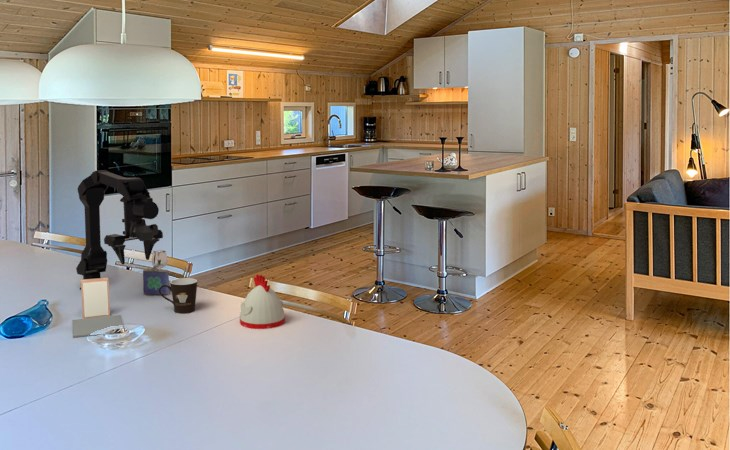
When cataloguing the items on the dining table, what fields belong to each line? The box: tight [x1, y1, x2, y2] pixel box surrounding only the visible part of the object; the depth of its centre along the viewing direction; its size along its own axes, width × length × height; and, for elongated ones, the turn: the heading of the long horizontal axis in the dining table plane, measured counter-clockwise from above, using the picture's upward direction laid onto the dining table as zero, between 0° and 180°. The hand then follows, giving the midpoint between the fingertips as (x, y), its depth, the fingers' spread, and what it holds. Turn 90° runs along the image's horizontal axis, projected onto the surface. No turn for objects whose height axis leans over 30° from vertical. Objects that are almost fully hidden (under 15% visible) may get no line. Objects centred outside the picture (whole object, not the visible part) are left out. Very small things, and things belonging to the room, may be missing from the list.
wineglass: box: [151, 249, 169, 270], centre depth 245 cm, size 6×6×12 cm
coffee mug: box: [159, 277, 198, 315], centre depth 211 cm, size 12×9×10 cm
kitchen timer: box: [239, 274, 286, 330], centre depth 200 cm, size 14×14×15 cm
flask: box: [142, 265, 170, 297], centre depth 228 cm, size 9×3×11 cm, turn 87°
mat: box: [71, 314, 124, 339], centre depth 194 cm, size 16×14×1 cm
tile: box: [80, 277, 111, 319], centre depth 203 cm, size 3×8×12 cm, turn 115°
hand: (135, 262), depth 215 cm, fingers open, 9 cm apart
